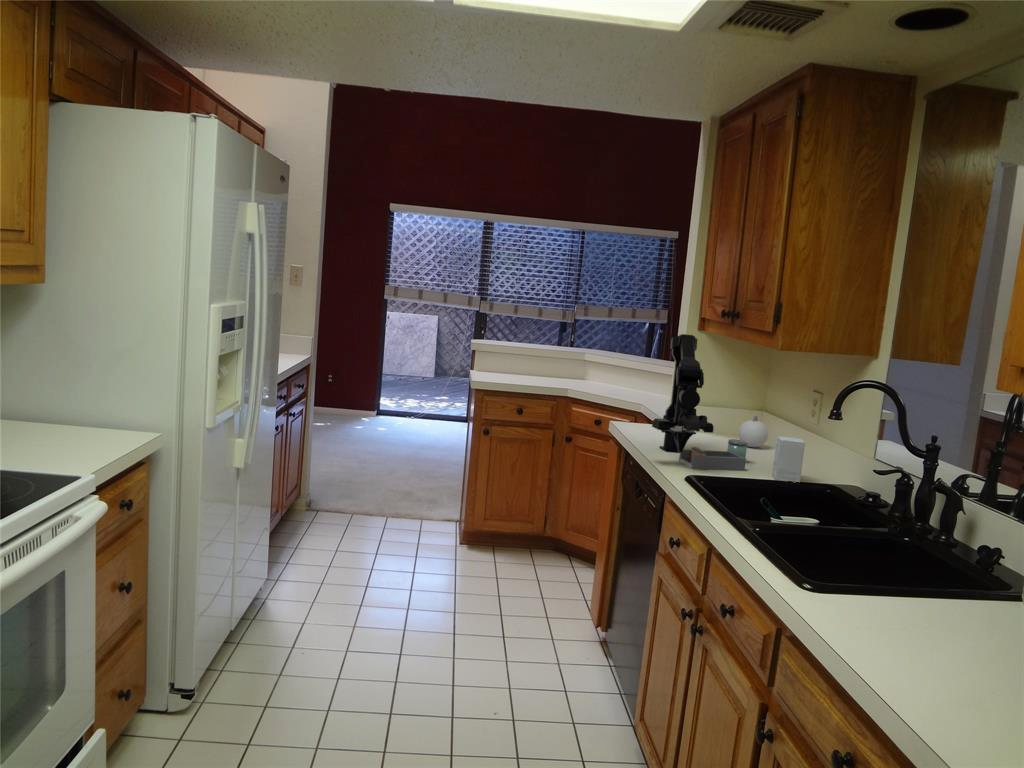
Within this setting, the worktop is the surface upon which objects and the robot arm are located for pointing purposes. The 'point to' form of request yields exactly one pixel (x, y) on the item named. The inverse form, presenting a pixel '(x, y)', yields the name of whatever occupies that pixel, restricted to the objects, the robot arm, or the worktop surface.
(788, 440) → the supplement box
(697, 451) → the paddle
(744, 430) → the ornament
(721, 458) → the gray tray
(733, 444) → the jar
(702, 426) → the robot arm
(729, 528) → the worktop surface
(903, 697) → the worktop surface
